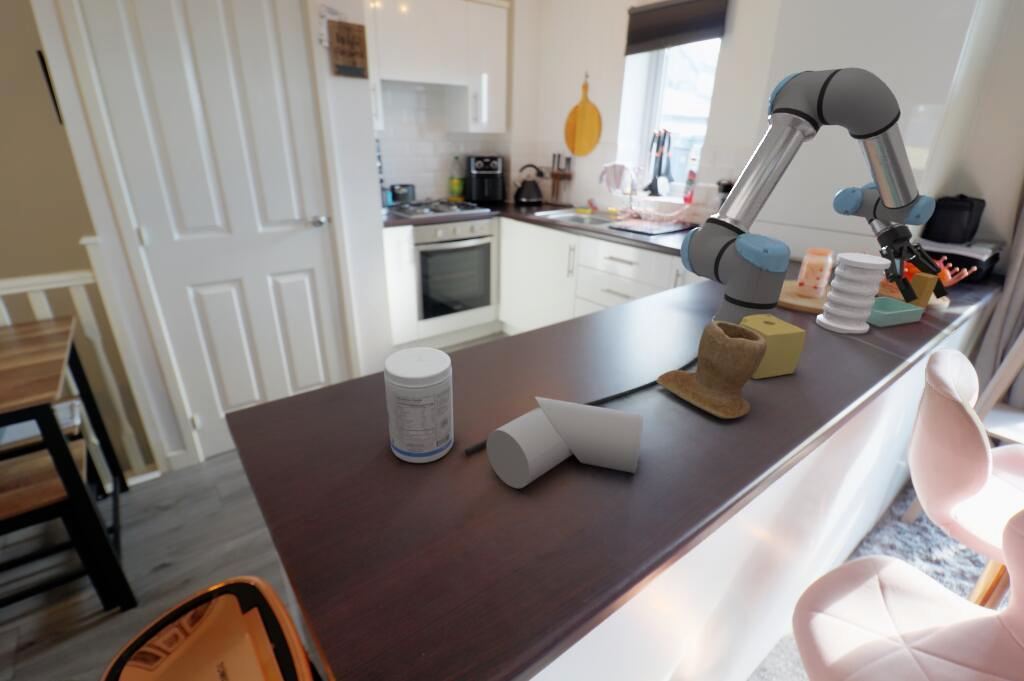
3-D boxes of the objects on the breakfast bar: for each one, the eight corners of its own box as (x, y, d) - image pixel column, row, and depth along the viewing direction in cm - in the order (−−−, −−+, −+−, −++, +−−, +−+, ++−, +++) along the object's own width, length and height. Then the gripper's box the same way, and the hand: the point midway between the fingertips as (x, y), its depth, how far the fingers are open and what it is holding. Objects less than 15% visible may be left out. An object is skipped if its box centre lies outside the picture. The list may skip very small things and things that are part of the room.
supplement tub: (395, 428, 77) (388, 346, 71) (454, 426, 78) (452, 345, 72) (386, 468, 68) (377, 377, 62) (453, 465, 69) (451, 376, 63)
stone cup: (764, 411, 85) (786, 334, 79) (721, 430, 79) (742, 348, 73) (694, 375, 97) (709, 305, 91) (653, 389, 91) (665, 316, 85)
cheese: (719, 358, 104) (729, 316, 100) (759, 353, 107) (770, 311, 103) (755, 381, 95) (767, 335, 91) (797, 375, 98) (811, 330, 94)
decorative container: (877, 336, 118) (903, 265, 111) (827, 332, 120) (849, 262, 112) (854, 319, 129) (877, 253, 121) (808, 316, 130) (828, 250, 123)
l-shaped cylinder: (564, 405, 82) (476, 454, 70) (580, 356, 77) (487, 400, 64) (649, 472, 73) (565, 544, 60) (675, 422, 67) (588, 489, 54)
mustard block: (914, 315, 133) (929, 277, 129) (899, 310, 136) (913, 273, 132) (923, 314, 134) (939, 276, 130) (908, 309, 138) (923, 272, 133)
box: (879, 328, 123) (884, 314, 122) (842, 314, 132) (847, 301, 130) (918, 322, 128) (924, 308, 127) (880, 309, 137) (885, 296, 135)
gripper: (906, 236, 145) (942, 300, 139) (849, 240, 138) (884, 308, 131) (932, 222, 138) (971, 288, 132) (873, 225, 131) (911, 296, 124)
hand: (927, 298), depth 131 cm, fingers open, 12 cm apart
